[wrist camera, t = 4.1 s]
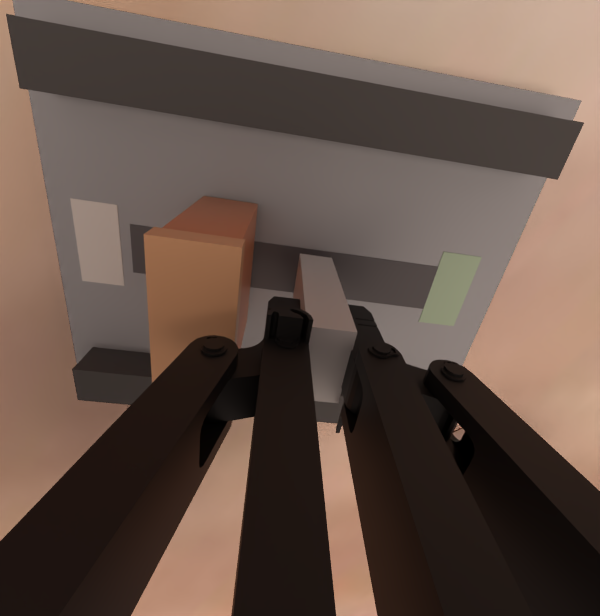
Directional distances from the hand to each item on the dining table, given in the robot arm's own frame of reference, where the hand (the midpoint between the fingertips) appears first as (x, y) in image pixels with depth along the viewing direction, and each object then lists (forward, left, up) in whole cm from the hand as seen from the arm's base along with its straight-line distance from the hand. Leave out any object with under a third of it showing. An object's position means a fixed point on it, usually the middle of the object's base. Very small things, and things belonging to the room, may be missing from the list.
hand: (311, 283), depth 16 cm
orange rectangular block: (-4, 0, -1) cm, 4 cm away
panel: (-1, 0, -3) cm, 3 cm away
